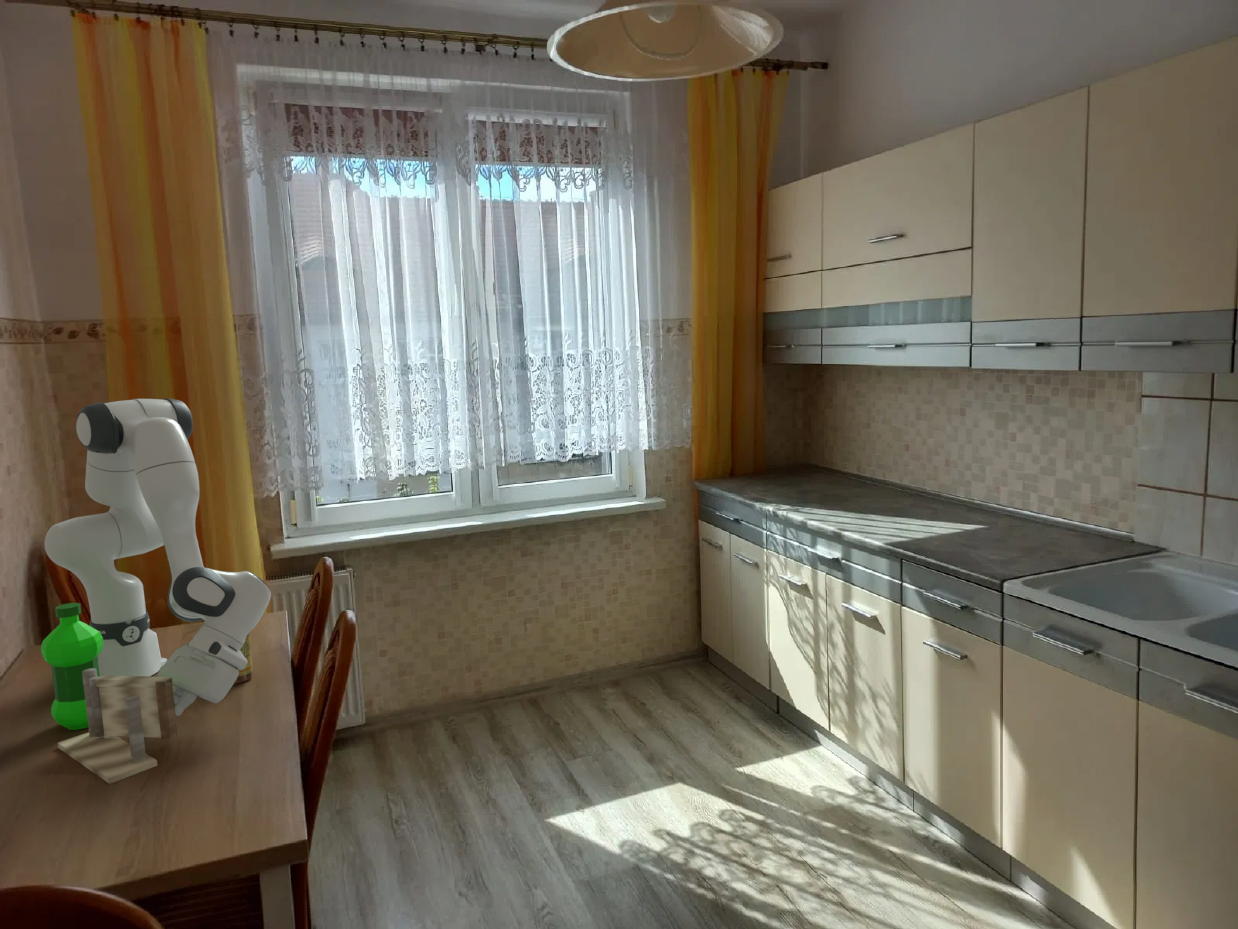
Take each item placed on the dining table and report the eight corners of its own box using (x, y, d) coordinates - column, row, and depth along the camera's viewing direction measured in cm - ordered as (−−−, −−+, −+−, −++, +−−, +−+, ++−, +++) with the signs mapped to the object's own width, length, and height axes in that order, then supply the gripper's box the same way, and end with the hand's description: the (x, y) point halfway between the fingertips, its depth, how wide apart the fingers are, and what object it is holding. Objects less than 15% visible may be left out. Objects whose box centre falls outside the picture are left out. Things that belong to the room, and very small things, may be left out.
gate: (93, 737, 162) (86, 679, 160) (100, 732, 164) (94, 675, 162) (171, 739, 160) (164, 681, 158) (177, 734, 162) (171, 676, 160)
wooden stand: (58, 747, 161) (49, 678, 159) (103, 732, 167) (95, 665, 166) (109, 784, 146) (100, 707, 145) (157, 765, 153) (149, 692, 151)
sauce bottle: (242, 685, 189) (234, 600, 187) (217, 684, 191) (209, 599, 188) (259, 674, 196) (252, 592, 193) (236, 673, 197) (228, 591, 194)
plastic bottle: (76, 713, 177) (62, 598, 174) (123, 714, 176) (109, 598, 173) (39, 735, 167) (23, 613, 164) (88, 735, 166) (73, 613, 163)
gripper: (176, 633, 173) (132, 695, 167) (228, 650, 161) (183, 718, 155) (200, 646, 177) (158, 708, 171) (252, 664, 165) (210, 731, 159)
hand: (171, 713), depth 163 cm, fingers closed
